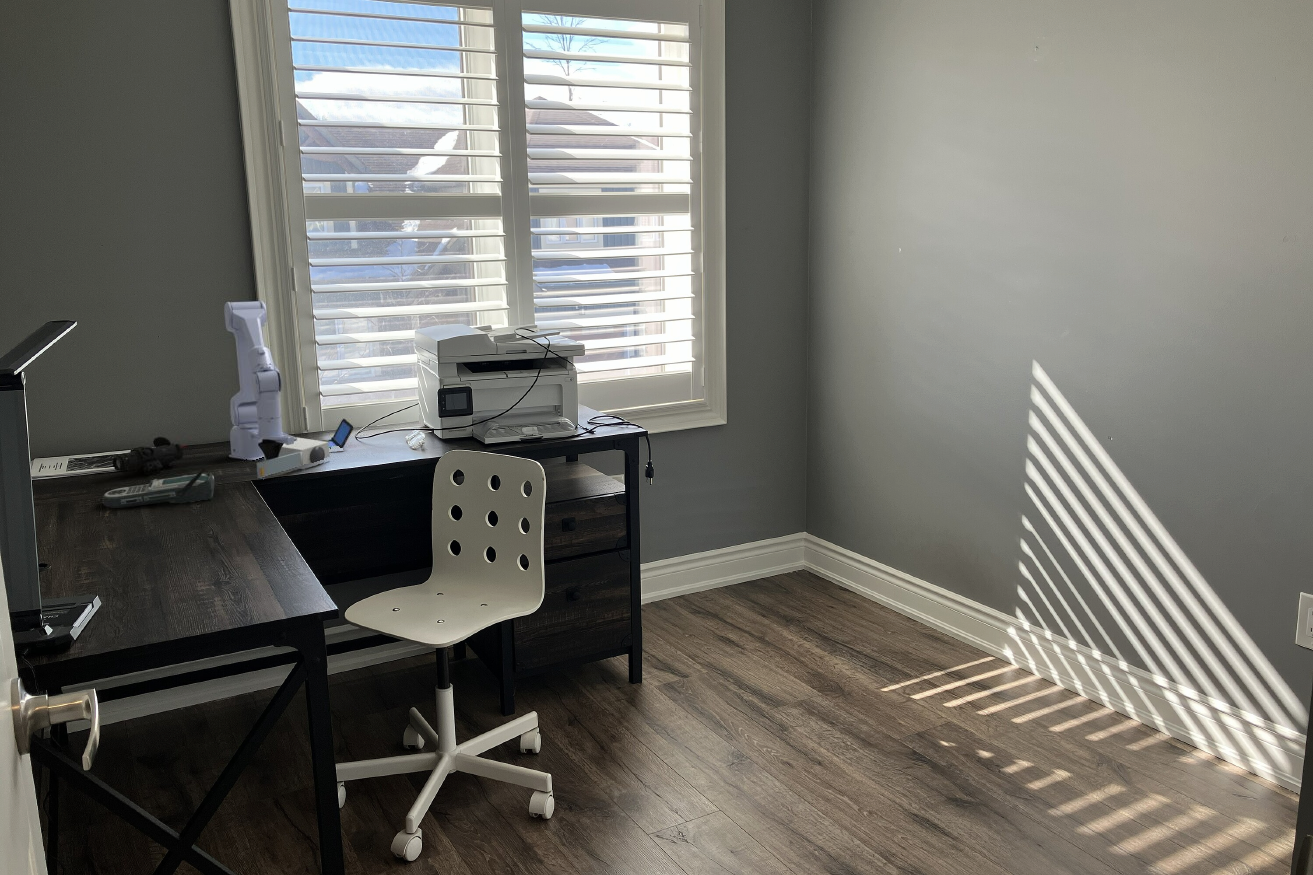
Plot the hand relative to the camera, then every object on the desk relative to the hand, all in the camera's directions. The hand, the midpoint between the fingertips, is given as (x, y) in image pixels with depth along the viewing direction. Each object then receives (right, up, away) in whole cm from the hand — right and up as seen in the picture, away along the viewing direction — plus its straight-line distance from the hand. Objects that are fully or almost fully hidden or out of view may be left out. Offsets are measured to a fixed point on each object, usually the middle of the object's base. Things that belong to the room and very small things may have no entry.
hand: (273, 467), depth 256 cm
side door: (+2, -2, +1) cm, 3 cm away
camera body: (+1, +1, +15) cm, 15 cm away
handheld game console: (+5, +5, +32) cm, 32 cm away
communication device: (-19, -8, -20) cm, 29 cm away
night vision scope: (-34, -1, +3) cm, 34 cm away
